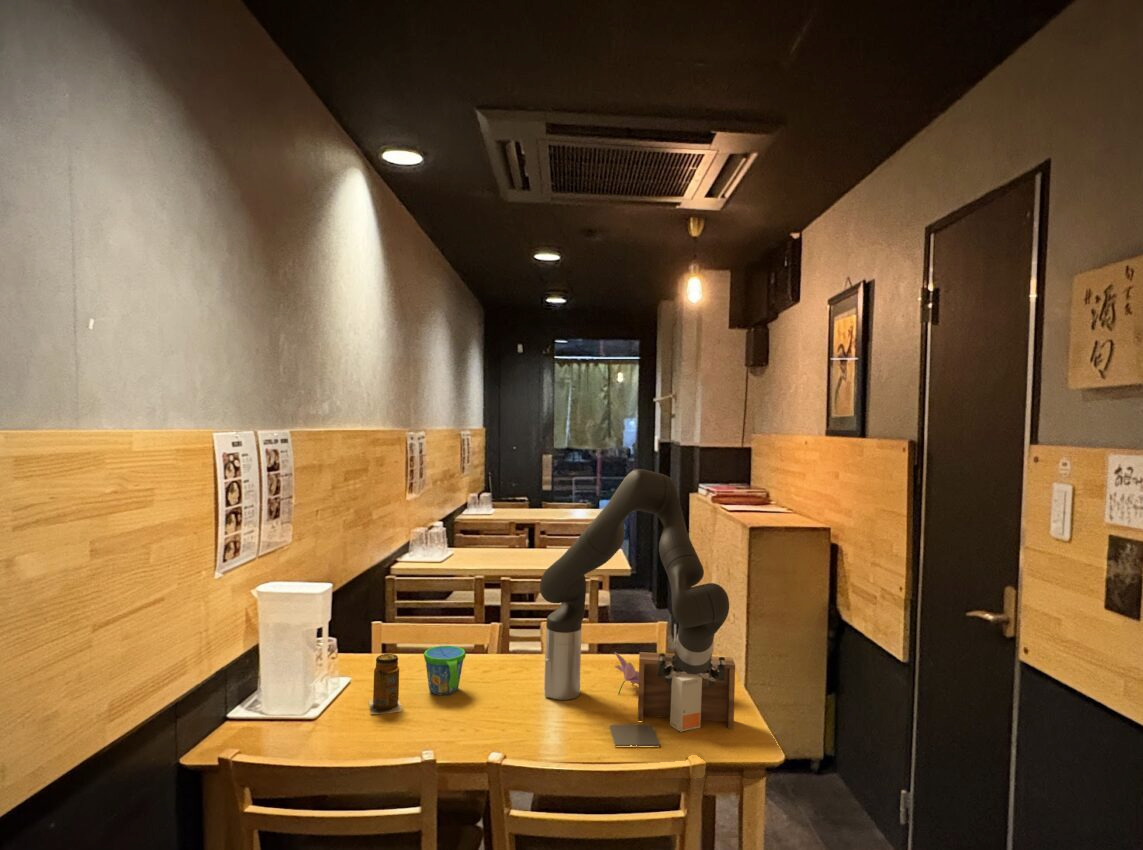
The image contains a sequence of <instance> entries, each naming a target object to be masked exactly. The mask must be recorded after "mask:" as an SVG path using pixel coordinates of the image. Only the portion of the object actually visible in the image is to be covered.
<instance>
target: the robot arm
mask: <svg viewBox="0 0 1143 850" xmlns="http://www.w3.org/2000/svg"><path fill="white" fill-rule="evenodd" d="M635 511H638V512H643V513H649V514H650V515H651V514H653V515H656V516H657V517H658V518H659V520H660V522H661V523H662V526H663V530H662V533H661V536H660V539H659V543H658V552H659V553H658V554H659V557H660V560H661V563H662V566H663V567H664V570H665V572H666V575H667V578H668V581H669V586H670V591H671V593H670V594H671V608H672V609H671V610H672V614H673V615H672V616H673V618H674V620H675V621H676V623H678V632H677V634H676V638H675V647H674V649H675V650H674V654H675V655H674V656H673V657H672V658H670V657H665V654H666V653H664V652H663V653H662V652H659V653H660V654H659V659H658V664H657V667H658V672H657V676H659V677H661V676H663V675H664V676H665V682H666V683H668V685H671V684H672V677H674V676H675V677H678V676H681V675H683V674H696V675H700V676H702V677H703V678H704V679H707V687H708V688H711V686H713V685H714V684H715V681H716V679H719V680H721V681H723V680H725V658H724V657H725V656H718V657H719V660H712V659H711V658H712V656H713V653H714V649H715V648H714V643H715V642H714V638H715V634H716V633H717V632H718V631H719V630H720V628H721V627H722V626H723V624H724V623H725V622H726V620H727V618H728V615H729V613H730V598H729V596H728V594H727V591H726V590H725V589H724V588H723V586H721V585H720V584H717V583H715V582H714V583H713V582H708V583H704V584H700V585H698V583H700V582H702V579H703V578H704V574H705V572H704V571H705V570H704V567H703V565H702V563H701V559H700V558H699V556H698V554H697V552H696V550H695V547H694V545H693V543H692V541H691V538H690V536H689V534H688V533H689V532H688V530H687V525H686V522H685V518H684V513H683V510H682V505H681V502H680V497H679V493H678V490H677V486H676V485H675V482H674V480H672V478H671V477H670V476H668V475H666V474H663V473H659V472H655V471H652V470H648V469H642V468H635V469H634V470H631V471H630V472H629V473H628V474H627V475H626V476H625V477H624V479H623V480H622V482H621V483H620V484H619V486H618V487H617V489H616V490H615V492H614V494H613V495H612V496H611V498H610V499H609V500H608V502H607V504H605V506H604V507H603V509H602V510H601V511H600V512H599V514H598V515H597V516H596V517H595V518H594V519H593V521H592V522H591V523H589V525H588V526H587V527H586V528H585V529H584V530H583V531H582V533H581V534H580V535H579V536H578V538H576V540H575V541H574V542H573V543H572V544H571V545H570V547H569V548H568V549H567V550H566V551H565V552H564V554H563V555H561V557H559V558H558V559H557V560H555V561H554V562H553V563H552V564H551V565H550V566H548V568H547V569H546V570H545V571H544V572H543V574H542V577H541V579H540V583H539V591H540V594H541V595H540V596H541V597H542V598H543V599H544V600H545V601H546V602H547V603H550V604H560V605H559V606H558V608H557V609H555V610H554V611H553V612H551V613H550V614H549V615H547V618H546V631H545V655H544V657H545V658H544V688H543V689H544V697H545V698H550V699H553V700H561V701H563V700H564V701H566V700H572V699H575V698H578V697H580V693H581V665H582V664H581V660H582V658H581V657H582V656H581V655H582V624H583V621H584V618H585V608H586V596H587V580H586V574H589V573H591V572H593V571H595V570H596V569H598V568H600V567H602V566H603V565H605V564H606V563H607V562H609V561H610V560H611V559H612V558H613V557H614V556H615V554H617V553H618V552H619V550H620V549H621V548H622V546H623V544H624V541H625V526H624V521H625V520H626V518H627V517H628V516H629V515H630V514H631V513H633V512H635ZM712 666H714V667H715V668H716V669H717V670H715V669H714V668H713V667H712Z"/></svg>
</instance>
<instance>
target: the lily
mask: <svg viewBox="0 0 1143 850" xmlns="http://www.w3.org/2000/svg"><path fill="white" fill-rule="evenodd" d="M613 653H614V654H615V656H616V657H617V659H618V661H619V662H620V665H617V664H616V665H614V668H616V669H618V670H619V671H620V672H622V673H623V676H624V678H623V679H624V680H623V682H622V683H621V685H620V688H619V690H618V694H619V695H620V693H621V690H622V688H623V685H624V684H625V682H626V681H627V682H630V683H632V684H631V685H635V684H636V685H638V686H639V670H636V669H635V667H634V665H633V664H632V663H631V662H627V661H626V660H625V658H624V657H622V656H621V655H620V654H619V653H617V652H616V651H614V652H613Z"/></svg>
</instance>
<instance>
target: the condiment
mask: <svg viewBox="0 0 1143 850" xmlns="http://www.w3.org/2000/svg"><path fill="white" fill-rule="evenodd" d="M399 688H400V666H399V657H398V655H396V654H394V653H383V654H380V655H378V656H377V657H376V659H375V668H374V670H373V691H372V693H373V695H372V696H373V697H372V700H369V701H368V702H369V704H368V705H369V710H370V715H385V714H391V713H400V712H403V709H402V704H401V701H400V697H399V694H400V693H399V690H400V689H399Z"/></svg>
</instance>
